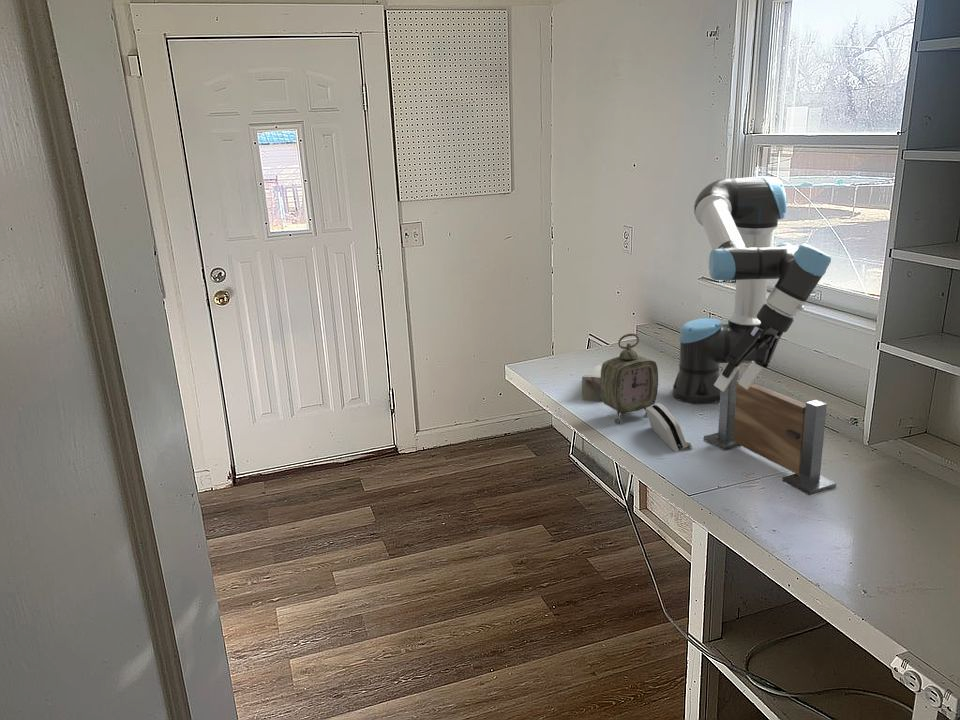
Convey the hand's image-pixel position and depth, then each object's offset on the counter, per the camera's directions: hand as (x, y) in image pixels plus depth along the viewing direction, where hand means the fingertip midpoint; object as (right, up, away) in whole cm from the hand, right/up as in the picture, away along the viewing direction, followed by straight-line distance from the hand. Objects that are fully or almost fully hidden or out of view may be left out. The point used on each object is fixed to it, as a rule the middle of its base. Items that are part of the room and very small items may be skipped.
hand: (731, 387), depth 178 cm
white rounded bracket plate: (-10, -15, +22) cm, 28 cm away
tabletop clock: (-17, -10, +38) cm, 43 cm away
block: (-21, -4, +59) cm, 63 cm away
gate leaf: (+10, -17, +5) cm, 21 cm away
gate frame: (+10, -18, +6) cm, 22 cm away
